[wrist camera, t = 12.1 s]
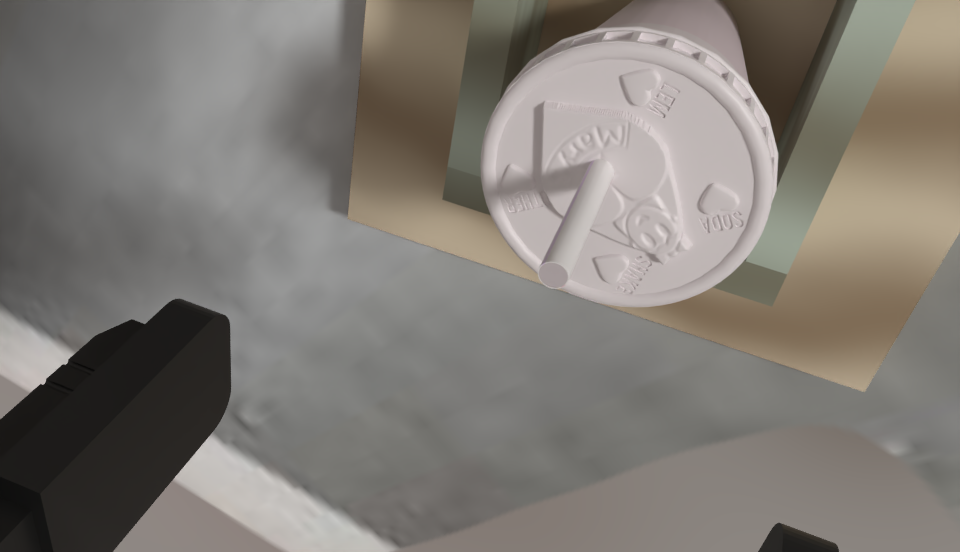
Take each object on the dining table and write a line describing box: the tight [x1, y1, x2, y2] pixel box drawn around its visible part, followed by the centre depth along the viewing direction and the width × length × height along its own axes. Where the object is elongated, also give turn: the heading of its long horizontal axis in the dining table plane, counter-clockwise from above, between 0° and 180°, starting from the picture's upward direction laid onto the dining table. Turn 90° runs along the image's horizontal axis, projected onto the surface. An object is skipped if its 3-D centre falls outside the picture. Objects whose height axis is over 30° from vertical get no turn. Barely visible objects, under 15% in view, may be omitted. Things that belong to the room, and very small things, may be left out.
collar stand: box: [348, 0, 960, 392], centre depth 25 cm, size 20×20×6 cm
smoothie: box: [480, 0, 778, 307], centre depth 21 cm, size 6×6×14 cm
